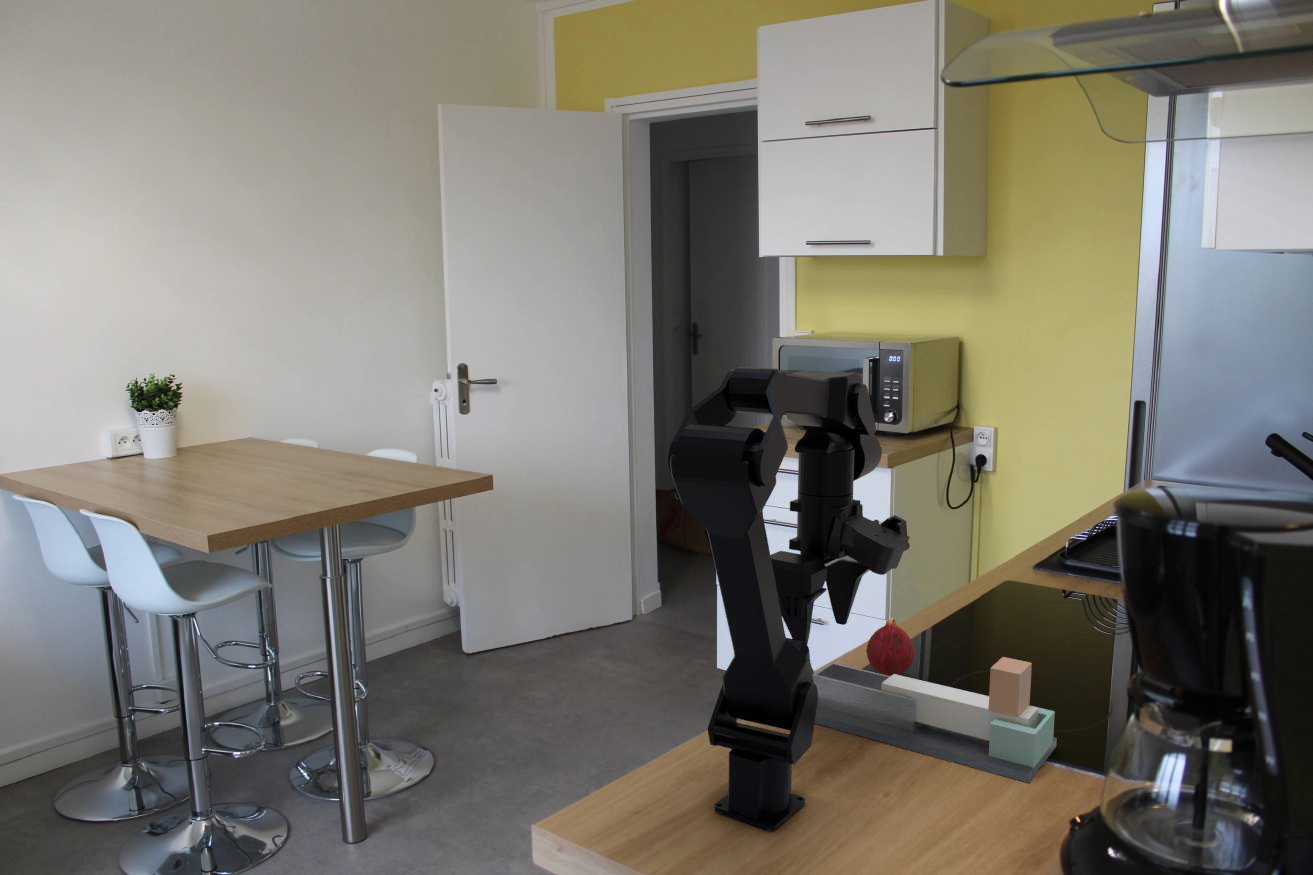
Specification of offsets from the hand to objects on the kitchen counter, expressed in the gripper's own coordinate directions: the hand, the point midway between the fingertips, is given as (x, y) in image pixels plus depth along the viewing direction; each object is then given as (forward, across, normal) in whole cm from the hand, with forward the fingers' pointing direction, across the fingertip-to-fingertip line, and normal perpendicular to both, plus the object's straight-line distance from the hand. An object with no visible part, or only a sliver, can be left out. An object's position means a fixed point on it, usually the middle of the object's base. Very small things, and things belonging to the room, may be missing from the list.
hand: (821, 635), depth 108 cm
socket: (+12, +9, -19) cm, 24 cm away
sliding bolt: (+10, +9, -12) cm, 18 cm away
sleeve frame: (+12, +9, -8) cm, 17 cm away
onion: (+12, +21, +1) cm, 24 cm away
